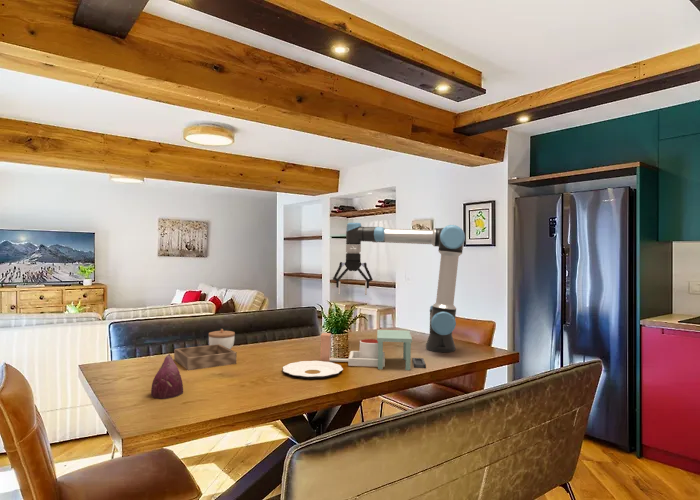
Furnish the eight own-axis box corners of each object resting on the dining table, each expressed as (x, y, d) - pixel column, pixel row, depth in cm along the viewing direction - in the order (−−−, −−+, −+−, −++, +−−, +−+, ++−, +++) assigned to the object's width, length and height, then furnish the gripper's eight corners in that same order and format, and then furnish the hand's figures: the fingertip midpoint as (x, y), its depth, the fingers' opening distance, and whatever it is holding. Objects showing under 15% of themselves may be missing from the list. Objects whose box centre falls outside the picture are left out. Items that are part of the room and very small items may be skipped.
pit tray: (414, 367, 201) (414, 364, 201) (412, 361, 213) (412, 357, 213) (425, 368, 200) (425, 364, 200) (423, 361, 212) (423, 358, 212)
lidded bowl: (239, 350, 228) (240, 328, 228) (220, 355, 218) (220, 332, 218) (222, 347, 235) (222, 326, 235) (202, 351, 225) (203, 329, 225)
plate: (350, 368, 199) (350, 363, 199) (329, 383, 175) (329, 378, 175) (298, 362, 207) (298, 358, 207) (271, 376, 183) (271, 372, 183)
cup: (378, 366, 202) (379, 343, 202) (357, 364, 205) (357, 342, 205) (383, 361, 212) (383, 339, 212) (362, 359, 214) (362, 338, 214)
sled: (318, 364, 201) (319, 337, 201) (323, 356, 217) (323, 331, 217) (384, 366, 199) (385, 339, 199) (384, 358, 215) (384, 332, 215)
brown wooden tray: (219, 354, 219) (219, 344, 219) (236, 363, 202) (236, 352, 202) (174, 360, 207) (174, 349, 207) (188, 370, 190) (188, 358, 190)
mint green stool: (376, 369, 197) (377, 337, 197) (376, 357, 218) (377, 329, 218) (411, 370, 196) (412, 339, 196) (408, 358, 217) (409, 330, 217)
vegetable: (157, 399, 163) (156, 356, 166) (187, 395, 163) (185, 352, 167) (146, 401, 152) (145, 355, 156) (177, 397, 153) (176, 351, 157)
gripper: (328, 252, 230) (327, 294, 230) (377, 253, 229) (376, 295, 229) (329, 252, 238) (329, 293, 238) (377, 253, 236) (377, 294, 236)
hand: (352, 294), depth 233 cm, fingers open, 13 cm apart
